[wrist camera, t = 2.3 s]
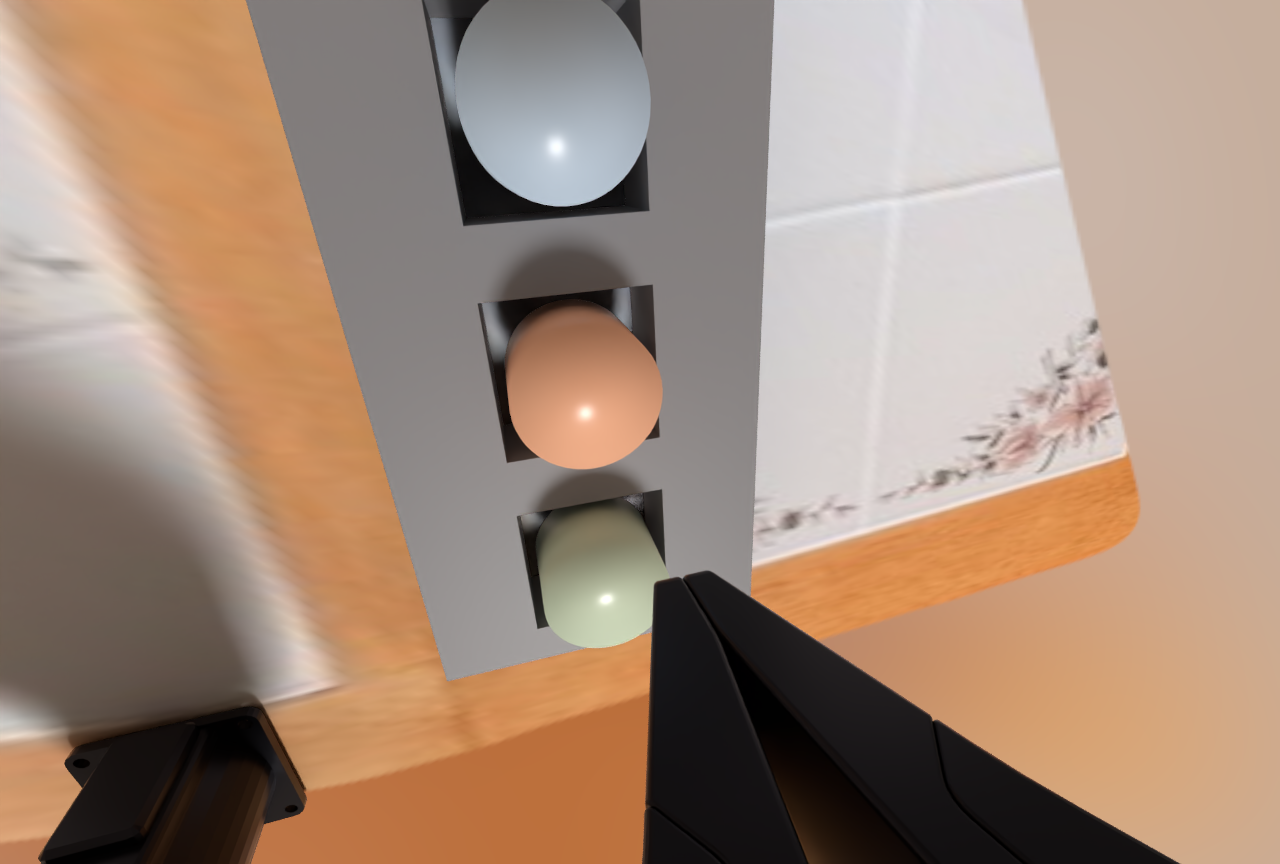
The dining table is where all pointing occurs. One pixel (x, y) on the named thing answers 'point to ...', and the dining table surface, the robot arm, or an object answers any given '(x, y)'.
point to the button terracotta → (580, 385)
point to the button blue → (552, 97)
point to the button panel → (535, 294)
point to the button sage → (598, 572)
